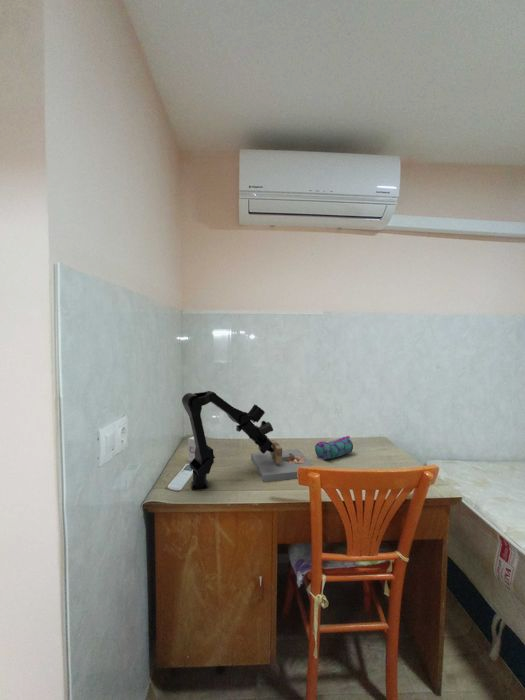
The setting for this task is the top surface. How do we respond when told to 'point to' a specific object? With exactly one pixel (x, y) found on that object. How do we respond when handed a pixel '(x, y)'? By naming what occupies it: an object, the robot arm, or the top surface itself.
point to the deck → (278, 465)
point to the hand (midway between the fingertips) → (272, 451)
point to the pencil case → (334, 448)
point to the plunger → (279, 453)
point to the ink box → (192, 448)
